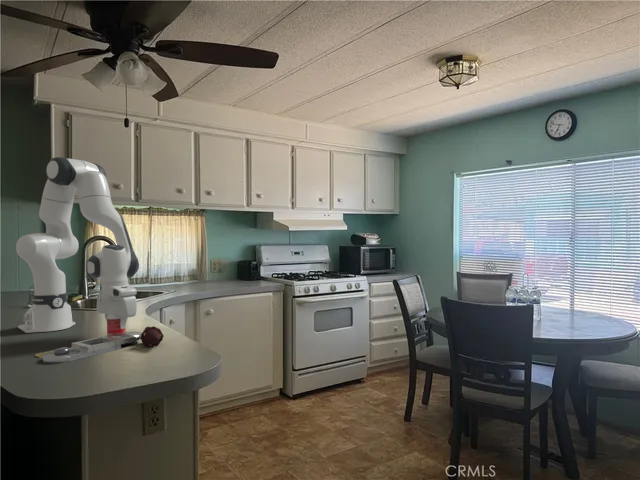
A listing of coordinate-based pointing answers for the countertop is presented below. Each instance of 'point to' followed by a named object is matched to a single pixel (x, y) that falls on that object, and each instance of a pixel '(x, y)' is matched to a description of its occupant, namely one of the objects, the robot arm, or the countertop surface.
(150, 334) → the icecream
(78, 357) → the flat tray with frame
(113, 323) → the pill bottle
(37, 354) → the link plate
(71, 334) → the countertop surface
